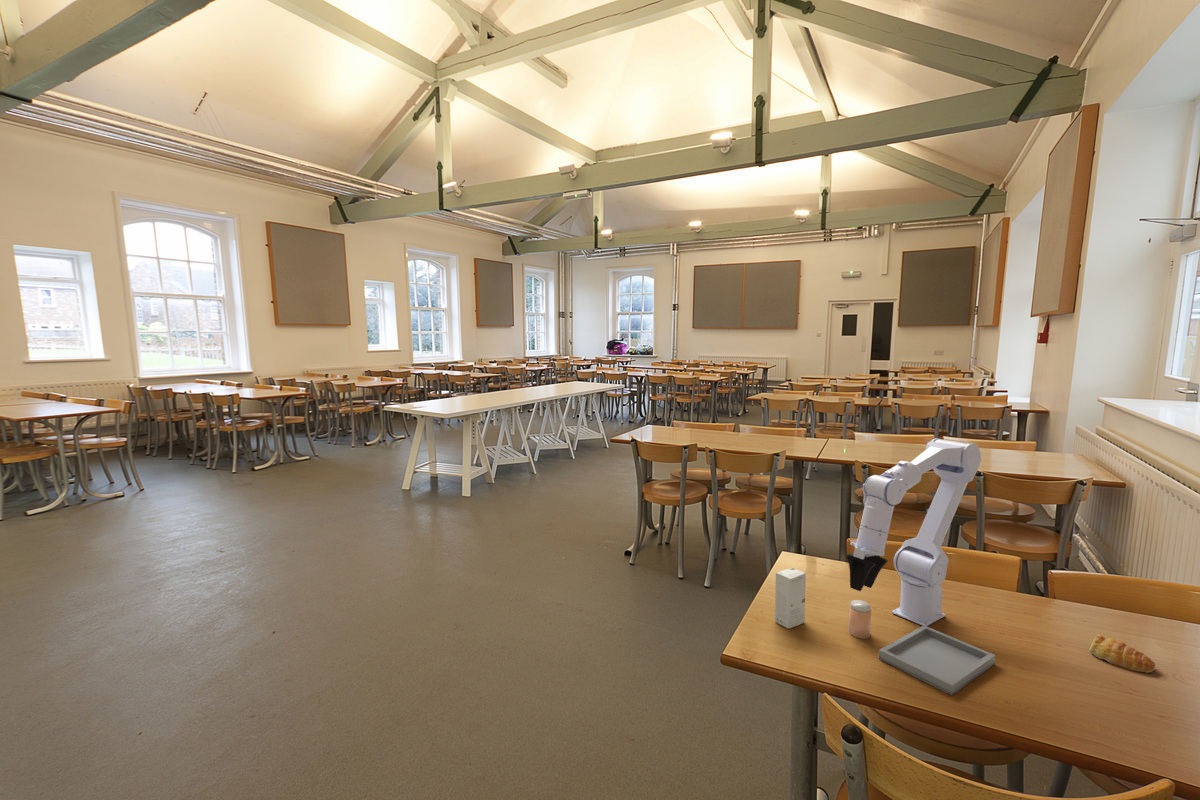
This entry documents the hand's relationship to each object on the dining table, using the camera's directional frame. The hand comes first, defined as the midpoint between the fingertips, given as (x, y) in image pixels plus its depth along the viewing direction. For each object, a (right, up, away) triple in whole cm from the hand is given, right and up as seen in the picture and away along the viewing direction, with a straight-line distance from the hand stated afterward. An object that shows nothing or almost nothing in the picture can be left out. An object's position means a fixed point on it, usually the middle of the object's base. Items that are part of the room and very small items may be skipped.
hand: (860, 587), depth 119 cm
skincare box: (-13, -11, +7) cm, 19 cm away
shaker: (+1, -11, +2) cm, 11 cm away
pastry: (+49, -12, -9) cm, 51 cm away
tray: (+11, -12, -9) cm, 19 cm away
